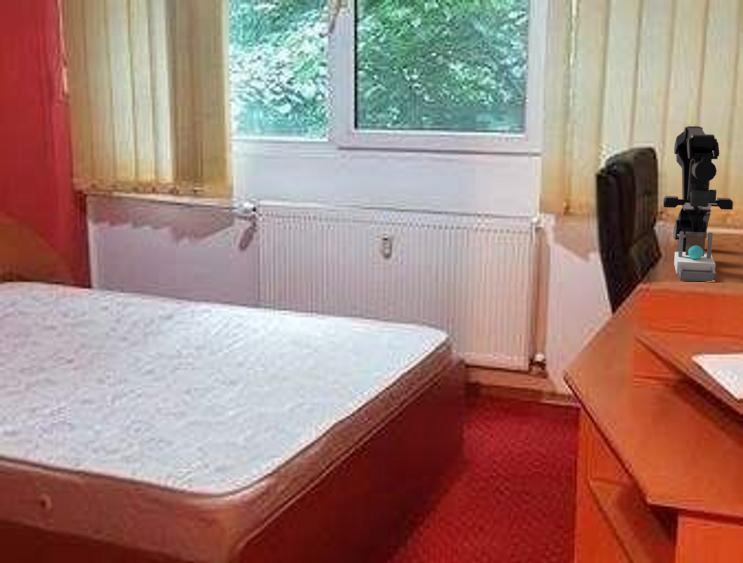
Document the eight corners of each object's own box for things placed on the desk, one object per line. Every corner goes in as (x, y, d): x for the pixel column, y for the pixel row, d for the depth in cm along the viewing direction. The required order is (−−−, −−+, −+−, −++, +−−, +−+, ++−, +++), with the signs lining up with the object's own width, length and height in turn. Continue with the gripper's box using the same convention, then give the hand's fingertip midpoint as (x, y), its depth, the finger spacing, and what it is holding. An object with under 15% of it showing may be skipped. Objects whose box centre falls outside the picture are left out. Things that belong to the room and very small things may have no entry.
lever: (683, 255, 272) (684, 231, 272) (703, 255, 271) (705, 232, 270) (684, 255, 267) (686, 231, 267) (705, 256, 266) (706, 232, 265)
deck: (674, 263, 278) (676, 227, 275) (709, 264, 275) (712, 229, 273) (676, 274, 262) (679, 236, 259) (714, 276, 259) (717, 238, 257)
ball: (687, 255, 267) (688, 242, 265) (702, 255, 266) (703, 243, 264) (687, 261, 264) (689, 249, 262) (702, 262, 263) (704, 249, 261)
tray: (678, 274, 261) (679, 265, 261) (712, 276, 259) (713, 267, 258) (680, 280, 253) (680, 271, 252) (715, 282, 250) (716, 273, 250)
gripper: (666, 180, 261) (662, 235, 264) (737, 182, 257) (732, 238, 260) (664, 176, 272) (661, 229, 275) (732, 178, 267) (728, 232, 270)
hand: (695, 232), depth 270 cm, fingers closed, pressing on lever
